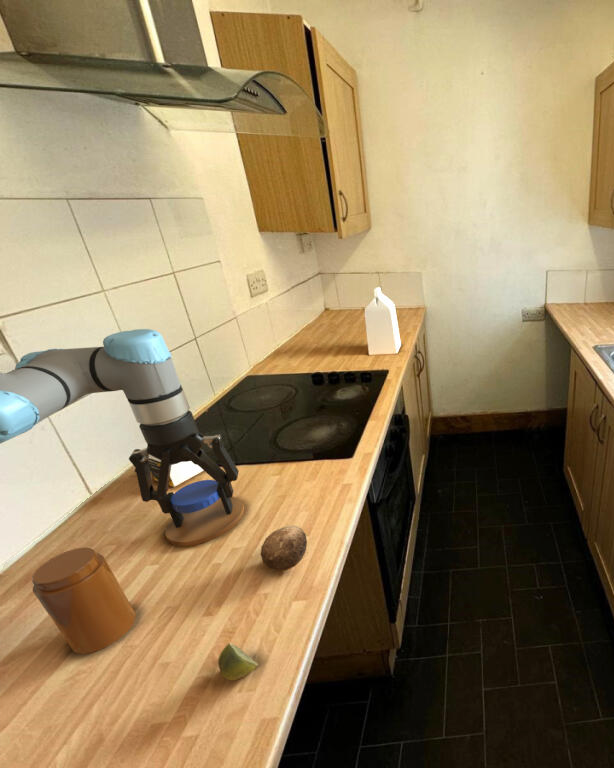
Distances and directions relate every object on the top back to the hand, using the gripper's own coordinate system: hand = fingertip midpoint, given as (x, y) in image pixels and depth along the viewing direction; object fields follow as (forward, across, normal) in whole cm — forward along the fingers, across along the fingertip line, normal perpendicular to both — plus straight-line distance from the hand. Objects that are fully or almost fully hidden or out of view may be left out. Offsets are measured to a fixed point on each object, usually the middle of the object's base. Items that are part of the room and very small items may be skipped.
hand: (205, 516), depth 83 cm
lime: (+2, -10, +37) cm, 38 cm away
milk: (+2, -51, -91) cm, 104 cm away
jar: (+1, +10, +21) cm, 23 cm away
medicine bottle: (+1, +9, -21) cm, 23 cm away
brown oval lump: (+2, -15, +18) cm, 23 cm away
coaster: (+1, 0, 0) cm, 1 cm away
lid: (-6, 0, 0) cm, 6 cm away
